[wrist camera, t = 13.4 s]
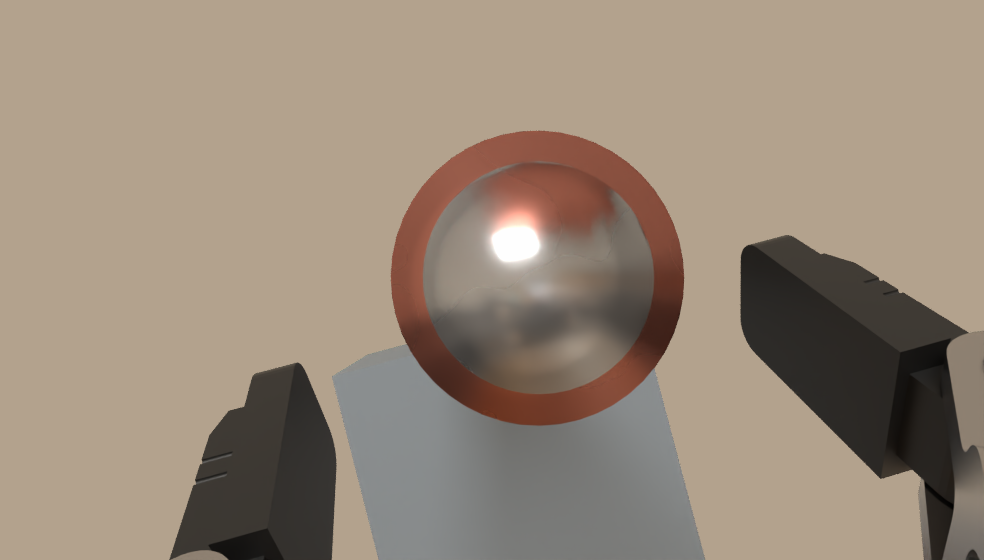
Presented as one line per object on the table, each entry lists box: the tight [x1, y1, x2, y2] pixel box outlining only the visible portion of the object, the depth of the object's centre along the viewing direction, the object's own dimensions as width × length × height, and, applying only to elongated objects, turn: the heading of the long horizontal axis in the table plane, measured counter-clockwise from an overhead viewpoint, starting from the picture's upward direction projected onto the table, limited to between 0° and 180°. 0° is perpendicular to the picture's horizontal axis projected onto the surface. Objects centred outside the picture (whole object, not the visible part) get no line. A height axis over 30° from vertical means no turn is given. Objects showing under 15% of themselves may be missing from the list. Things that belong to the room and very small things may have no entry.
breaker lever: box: [391, 131, 684, 426], centre depth 21 cm, size 25×4×4 cm, turn 4°
